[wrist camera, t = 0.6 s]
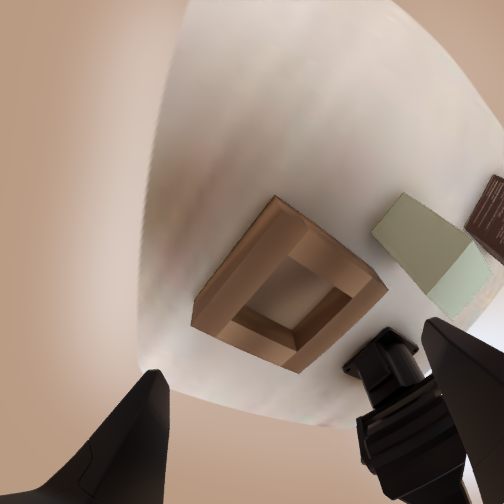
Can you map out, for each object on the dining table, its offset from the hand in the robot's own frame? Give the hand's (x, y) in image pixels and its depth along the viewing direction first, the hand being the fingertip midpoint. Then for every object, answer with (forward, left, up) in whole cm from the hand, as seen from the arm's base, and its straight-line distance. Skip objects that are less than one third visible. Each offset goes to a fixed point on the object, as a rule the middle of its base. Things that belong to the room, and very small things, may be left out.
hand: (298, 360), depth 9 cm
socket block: (-5, +3, -12) cm, 14 cm away
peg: (-9, -6, -12) cm, 17 cm away
